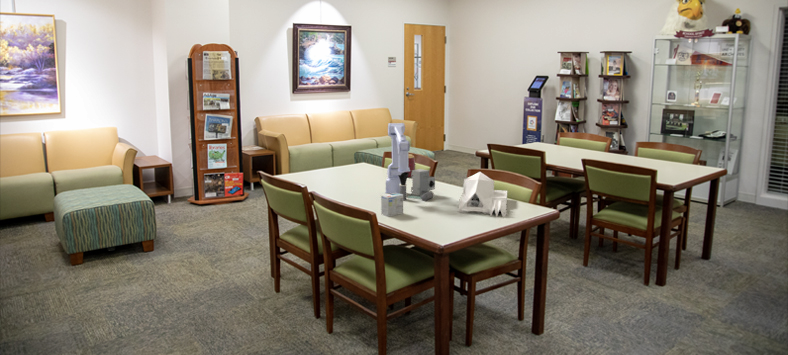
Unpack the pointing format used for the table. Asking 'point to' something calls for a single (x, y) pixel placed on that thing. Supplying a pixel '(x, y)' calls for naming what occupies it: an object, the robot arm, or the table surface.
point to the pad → (414, 197)
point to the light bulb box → (392, 204)
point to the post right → (427, 195)
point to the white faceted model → (482, 196)
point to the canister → (411, 164)
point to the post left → (403, 191)
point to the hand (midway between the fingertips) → (403, 185)
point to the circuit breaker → (422, 182)
